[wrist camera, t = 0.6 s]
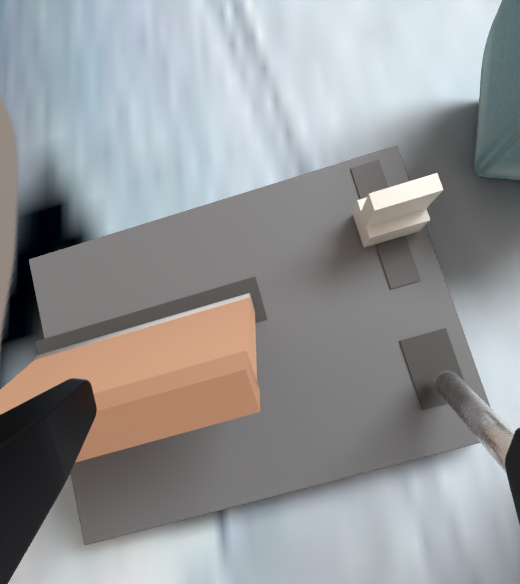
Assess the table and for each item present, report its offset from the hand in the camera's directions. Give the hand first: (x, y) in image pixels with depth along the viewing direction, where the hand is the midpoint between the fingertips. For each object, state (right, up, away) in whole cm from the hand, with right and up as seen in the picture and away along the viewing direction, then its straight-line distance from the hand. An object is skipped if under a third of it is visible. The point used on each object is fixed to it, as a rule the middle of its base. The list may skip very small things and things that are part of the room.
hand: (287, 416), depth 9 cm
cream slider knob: (+6, +6, +13) cm, 16 cm away
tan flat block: (-7, 0, +14) cm, 15 cm away
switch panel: (-1, 0, +16) cm, 16 cm away
